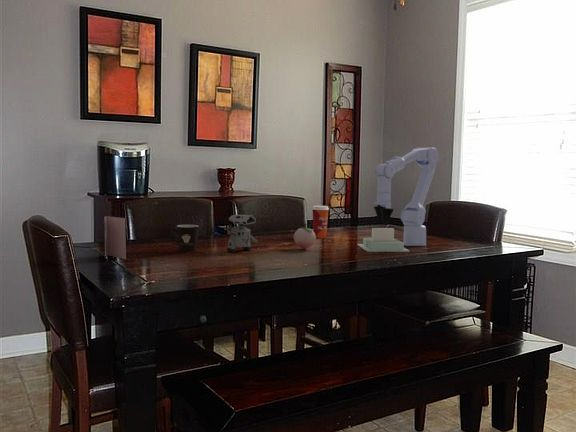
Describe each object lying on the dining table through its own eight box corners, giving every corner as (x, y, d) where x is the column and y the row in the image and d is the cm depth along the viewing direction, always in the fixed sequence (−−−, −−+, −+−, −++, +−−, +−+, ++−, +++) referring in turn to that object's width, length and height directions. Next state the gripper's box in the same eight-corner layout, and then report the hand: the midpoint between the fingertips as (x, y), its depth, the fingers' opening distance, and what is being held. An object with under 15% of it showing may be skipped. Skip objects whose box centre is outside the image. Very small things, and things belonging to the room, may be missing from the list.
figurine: (241, 255, 212) (242, 216, 211) (224, 250, 221) (225, 213, 219) (260, 252, 218) (260, 215, 217) (243, 248, 227) (243, 212, 225)
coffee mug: (202, 250, 222) (203, 225, 221) (190, 253, 214) (190, 227, 213) (179, 247, 227) (179, 223, 226) (166, 250, 219) (166, 225, 218)
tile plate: (391, 246, 237) (392, 228, 236) (393, 247, 234) (394, 229, 233) (371, 246, 236) (372, 228, 235) (372, 247, 233) (373, 228, 232)
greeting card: (102, 256, 205) (101, 216, 203) (123, 255, 208) (122, 215, 206) (104, 261, 194) (103, 219, 193) (126, 260, 197) (125, 218, 195)
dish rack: (397, 245, 244) (397, 237, 244) (409, 251, 228) (410, 243, 227) (357, 245, 242) (357, 237, 242) (367, 251, 226) (367, 243, 225)
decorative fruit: (319, 249, 228) (320, 225, 227) (306, 251, 222) (307, 227, 221) (302, 246, 235) (303, 223, 234) (289, 249, 229) (290, 225, 228)
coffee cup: (322, 239, 258) (322, 207, 257) (307, 237, 263) (308, 206, 262) (331, 237, 265) (332, 206, 264) (317, 235, 270) (318, 205, 268)
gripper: (370, 190, 241) (369, 221, 243) (379, 193, 227) (378, 225, 228) (386, 191, 242) (384, 221, 243) (396, 193, 228) (395, 225, 229)
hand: (382, 223), depth 236 cm, fingers open, 7 cm apart
